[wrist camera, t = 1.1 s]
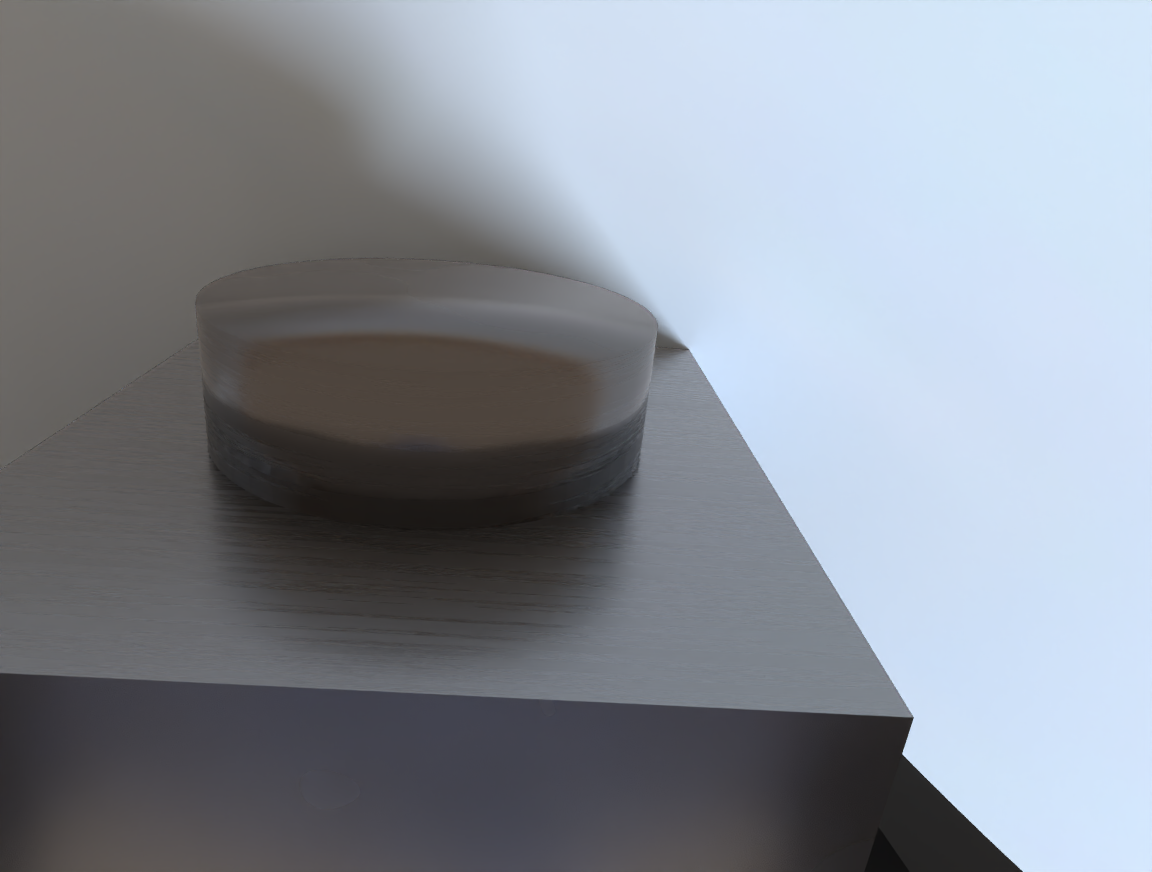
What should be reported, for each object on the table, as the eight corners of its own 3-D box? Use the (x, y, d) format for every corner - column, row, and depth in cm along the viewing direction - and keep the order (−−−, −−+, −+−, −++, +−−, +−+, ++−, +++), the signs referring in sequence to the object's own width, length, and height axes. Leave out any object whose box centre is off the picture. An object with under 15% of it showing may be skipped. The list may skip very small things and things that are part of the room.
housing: (610, 853, 12) (668, 1483, 7) (275, 841, 12) (34, 1497, 6) (700, 260, 9) (975, 520, 3) (234, 217, 8) (-375, 427, 3)
